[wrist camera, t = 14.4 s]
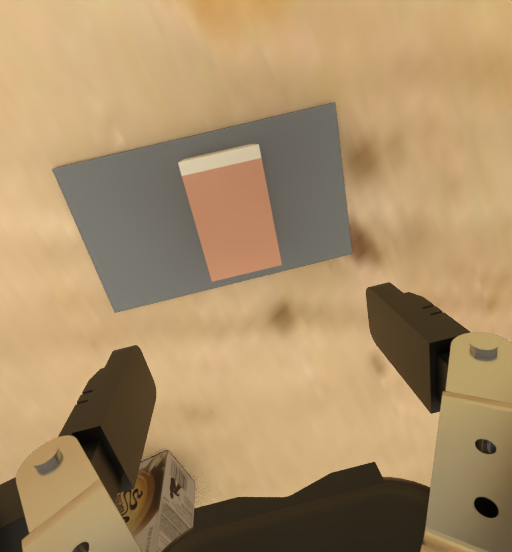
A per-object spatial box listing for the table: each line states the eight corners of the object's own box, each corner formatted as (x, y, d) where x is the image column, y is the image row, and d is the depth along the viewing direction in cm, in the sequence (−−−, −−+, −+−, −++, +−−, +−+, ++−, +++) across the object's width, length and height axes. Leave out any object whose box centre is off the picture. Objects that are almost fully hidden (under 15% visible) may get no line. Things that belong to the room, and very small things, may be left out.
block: (270, 244, 28) (250, 143, 25) (281, 264, 23) (258, 144, 20) (212, 258, 28) (184, 158, 25) (211, 281, 23) (178, 162, 20)
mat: (332, 103, 25) (335, 102, 25) (349, 251, 30) (352, 253, 29) (55, 168, 25) (52, 169, 24) (116, 309, 29) (114, 312, 29)
